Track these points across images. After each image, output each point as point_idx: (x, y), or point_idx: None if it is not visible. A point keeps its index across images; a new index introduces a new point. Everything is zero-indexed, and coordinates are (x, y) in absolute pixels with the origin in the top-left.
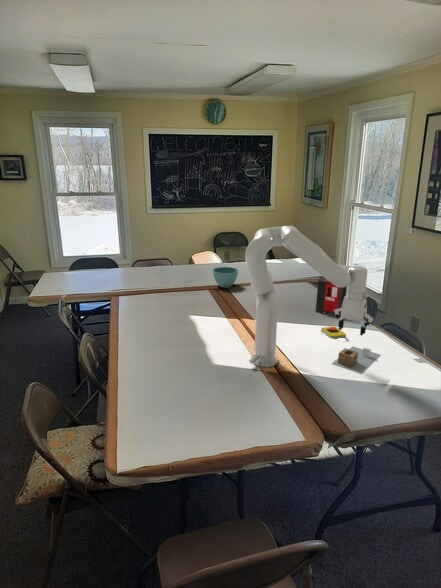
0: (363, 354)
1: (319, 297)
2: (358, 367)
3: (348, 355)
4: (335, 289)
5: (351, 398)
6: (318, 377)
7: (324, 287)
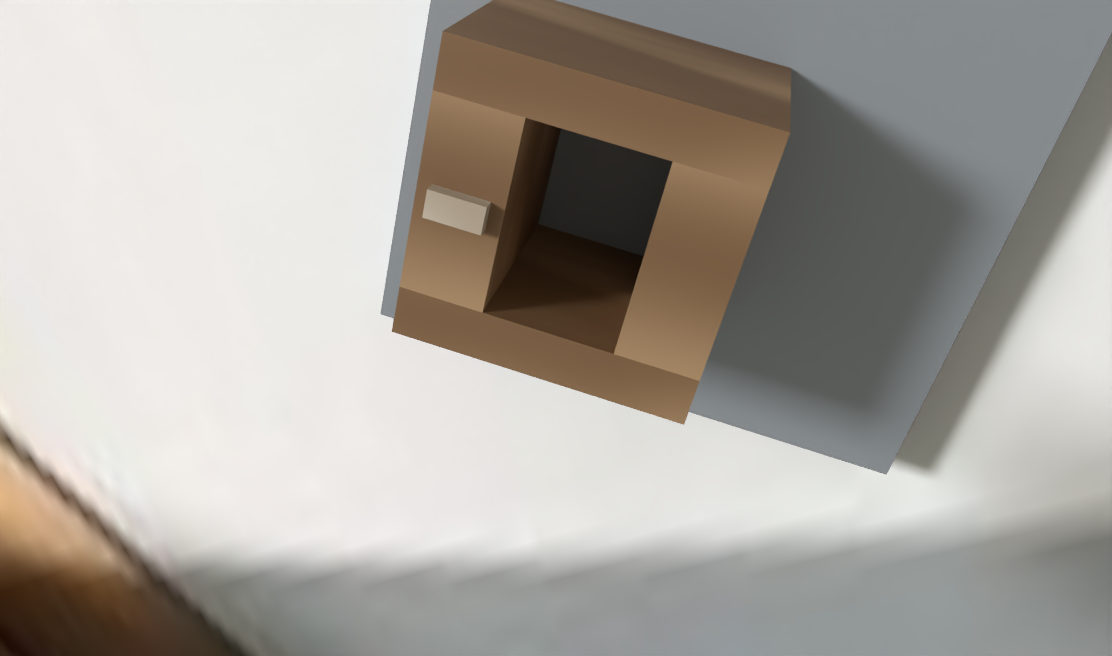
0: None
1: None
2: (828, 272)
3: (592, 373)
4: None
5: None
6: (350, 595)
7: None
